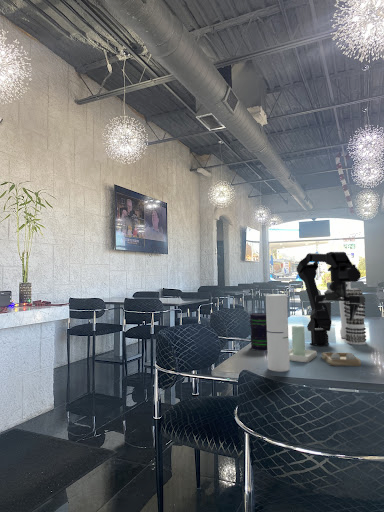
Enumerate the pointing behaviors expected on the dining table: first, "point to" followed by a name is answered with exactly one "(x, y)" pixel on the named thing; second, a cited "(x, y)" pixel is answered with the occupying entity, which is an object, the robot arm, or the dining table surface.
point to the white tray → (308, 356)
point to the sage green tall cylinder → (298, 340)
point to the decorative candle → (355, 321)
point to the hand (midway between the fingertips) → (340, 319)
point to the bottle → (343, 314)
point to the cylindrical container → (277, 332)
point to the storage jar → (258, 331)
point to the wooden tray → (340, 360)
